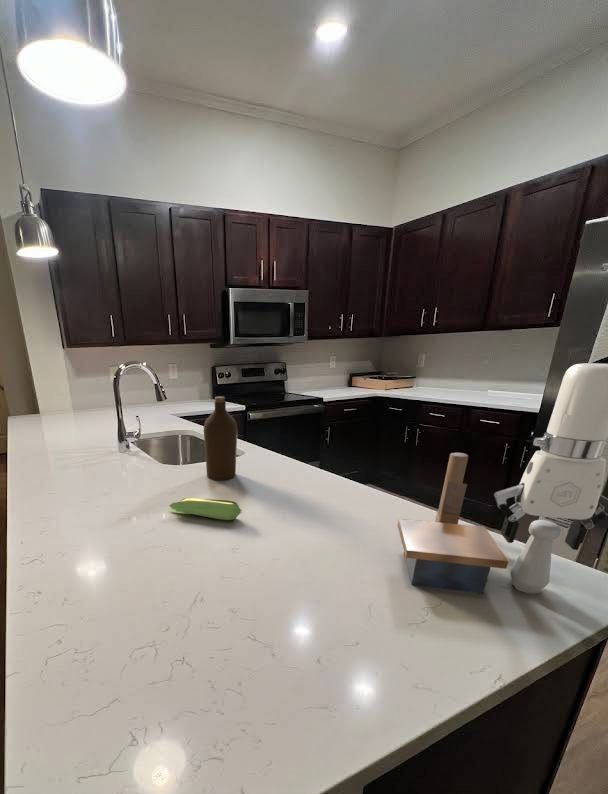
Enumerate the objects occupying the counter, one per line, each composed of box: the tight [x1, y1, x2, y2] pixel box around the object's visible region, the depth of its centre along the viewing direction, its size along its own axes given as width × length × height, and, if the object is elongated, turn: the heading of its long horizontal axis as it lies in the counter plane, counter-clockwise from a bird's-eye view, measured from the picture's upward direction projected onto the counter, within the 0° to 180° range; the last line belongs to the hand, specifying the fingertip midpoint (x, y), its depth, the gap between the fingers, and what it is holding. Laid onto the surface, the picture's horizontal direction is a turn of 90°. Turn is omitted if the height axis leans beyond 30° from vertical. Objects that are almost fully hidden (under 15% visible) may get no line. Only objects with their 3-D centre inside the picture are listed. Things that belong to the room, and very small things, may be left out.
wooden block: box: [434, 452, 469, 524], centre depth 93 cm, size 4×11×18 cm, turn 156°
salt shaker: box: [509, 519, 562, 594], centre depth 74 cm, size 6×6×13 cm
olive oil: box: [203, 396, 239, 481], centre depth 132 cm, size 11×11×25 cm
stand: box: [397, 518, 509, 594], centre depth 80 cm, size 16×14×8 cm
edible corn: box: [168, 497, 243, 522], centre depth 106 cm, size 5×20×5 cm, turn 71°
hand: (538, 542), depth 73 cm, fingers open, 9 cm apart
